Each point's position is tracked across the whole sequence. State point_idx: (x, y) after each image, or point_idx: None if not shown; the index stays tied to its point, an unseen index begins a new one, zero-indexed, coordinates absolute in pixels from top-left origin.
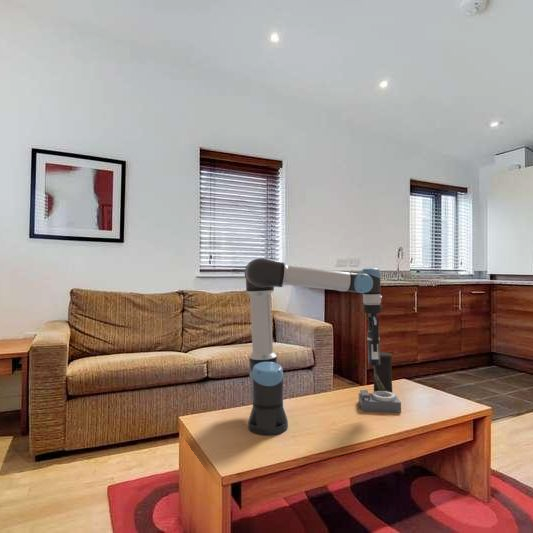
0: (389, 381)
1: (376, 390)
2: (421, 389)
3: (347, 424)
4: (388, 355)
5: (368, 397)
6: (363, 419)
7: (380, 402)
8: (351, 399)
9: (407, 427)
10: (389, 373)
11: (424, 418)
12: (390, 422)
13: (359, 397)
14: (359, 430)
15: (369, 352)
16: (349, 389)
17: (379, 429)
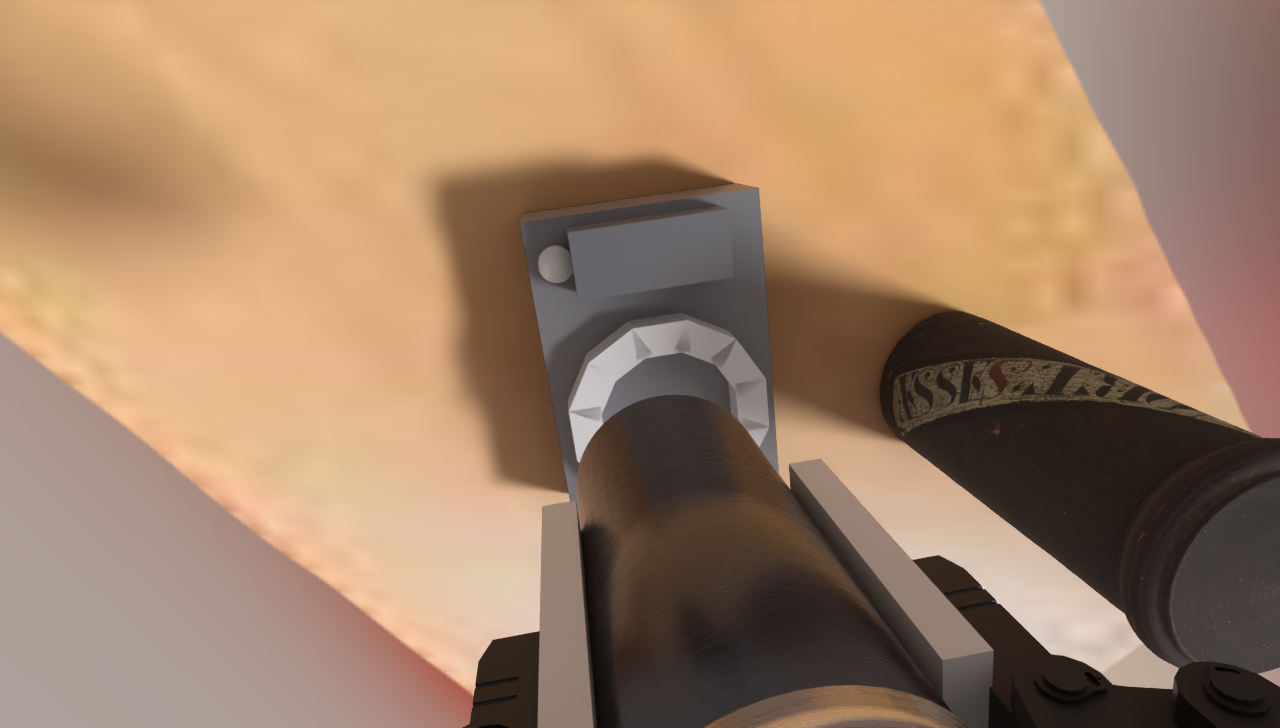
0: (961, 484)
1: (931, 343)
2: (1073, 633)
3: (154, 89)
4: (1179, 650)
5: (575, 285)
6: (324, 225)
7: (548, 380)
8: (790, 116)
9: (284, 523)
10: (1012, 524)
11: (493, 624)
12: (337, 421)
13: (694, 194)
14: (66, 193)
15: (629, 521)
16: (1064, 92)
17: (161, 344)
